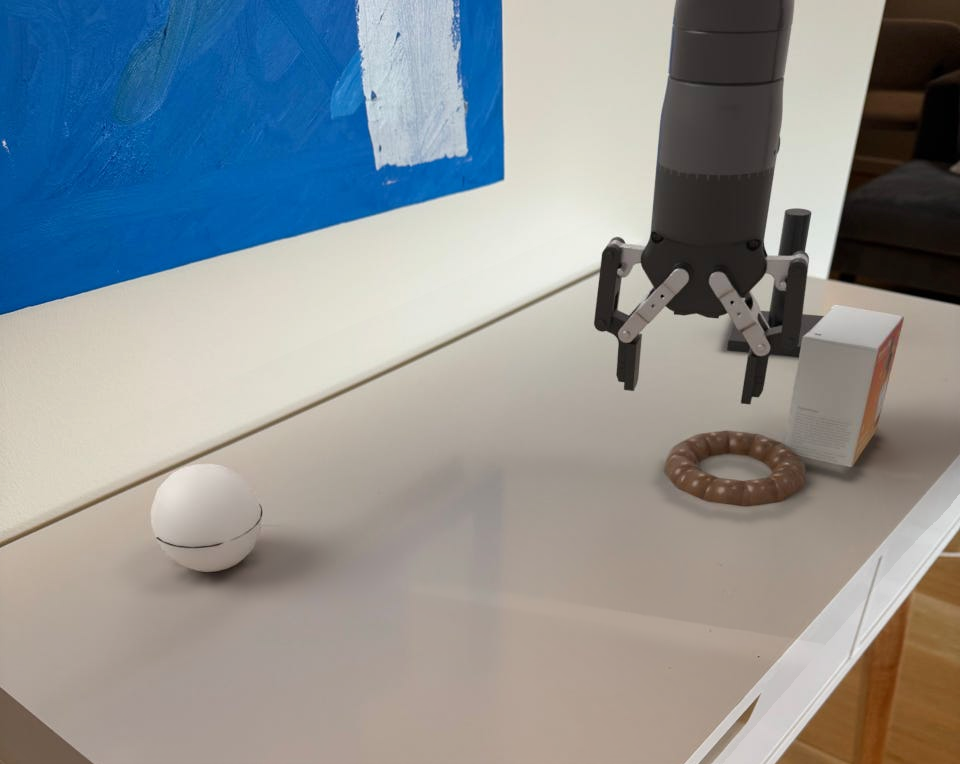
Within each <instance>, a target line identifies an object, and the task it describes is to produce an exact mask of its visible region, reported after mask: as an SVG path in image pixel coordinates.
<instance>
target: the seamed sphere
mask: <svg viewBox="0 0 960 764" xmlns="http://www.w3.org/2000/svg"><path fill="white" fill-rule="evenodd" d="M153 498H154V499H153V502H152V505H151V509H150V524H151V529H152V532H153V534H154V536H155V539H156V542H157V543H158V545H159V547H160V548H161V550H162V551H163V552H164V553H165V554H166V555H167V556H168V557H170V559H172V560H173V561H174V562H175V563H176V564H178V565H180V566H183V567H185V568H188V569H191V570H194V571H197V572H203V573H204V572H205V573H211V572H213V573H214V572H220V571H224V570H227V569H230V568H231V567H234V566H236V565H237V564H238V563H240V562H241V561H243V560H244V559H245V558H246V557H247V556H248V555H249V554H250V553H251V552H252V551H253V549H254V548H255V546H256V544H257V542H258V539H259V537H260V534H261V531H262V530H261V529H262V527H295V525H294V524H262V517H263V507H262V505H261V504H260V502H259V500H258V497H257V495H256V493H255V491H254V489H253V488H252V486H251V485H250V484H249V483H248V482H247V481H246V479H245V478H244V477H242V476H241V475H240V474H239V473H236V472H235V471H233V470H232V469H229V468H227V467H226V466H223V465H220V464H216V463H215V464H214V463H196V464H191V465H187V466H185V467H182V468H180V469H177V470H176V471H173V472H172V473H171V474H170V475H169V476H168V477H167V478H166V479H165V480H164V481H163V482H162V483H161V485H160V486H158V488H157V489H156V493H155V495H154V497H153Z"/></svg>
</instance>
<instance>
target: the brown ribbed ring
mask: <svg viewBox="0 0 960 764" xmlns="http://www.w3.org/2000/svg"><path fill="white" fill-rule="evenodd" d="M728 454H729V455H737V456H738V455H739V456H747V457H750V458H752V459H755V460H757V461H759V462H762V463H764V464H765V465H766V466H767V467H768V468H769V469H770V471H771V472H772V473H771V474H770V475H768V476H766V477H762V478H755V479H746V480H739V479H731V478H723V477H718V476H715V475H713V474H711V473H709V472H706V471H703V470H701V469H700V467H699V463H700V462H702V461H704V460H705V459H708V458H709V457H712V456H713V457H714V456H721V455H728ZM806 468H807V467H806V465H805V462H804V460H803V459H802V458H801V456H799V455H796V454H795V453H794V452H793V451H792V450H791V449H790V448H789V447H788V446H787V445H786V444H784V442H781V441H778V440H775V439H773V438H771V437H768V436H765V435H763V434H759V433H755V432H746V431H738V430H737V431H736V430H728V429H727V430H719V431H711V432H703V433H702V432H701V433H697V434H694V435H692V436H690V437H688V438H687V439H684V440H683V441H681V442H678V443H677V444H675V445H674V446H673V447H672V448H670V451H669V454H668V456H667V459H666V462H665V465H664V469H663V471H664V474H665V475H666V476H667V478H668V479H669V480H670V482H672V484H673V486H674V487H675V488H676V489H678V490H681V491H682V492H684V493H687V494H689V495H691V496H693V497H696V498H698V499H700V500H703V501H705V502H708V503H715V504H722V505H730V506H738V507H753V506H760V505H761V506H762V505H767V504H768V505H769V504H777V503H781V502H783V501H786V500H787V499H789V498H790V497H792V496H793V495H796V494H797V493H799V492H800V491H801V490H803V489H804V487H805V478H806V472H807V471H806Z"/></svg>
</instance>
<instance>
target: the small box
mask: <svg viewBox="0 0 960 764" xmlns="http://www.w3.org/2000/svg"><path fill="white" fill-rule="evenodd" d="M823 316H824V317H823V318H822V319H821V320H820V321H819V322H818V323H817V324H816V325H815V326H814V327H813V328H812V329H811V330H810V331H809V332H808V333H806V334H805V335H804V336H803V338H802V344H801V350H800V355H799V357H798V360H797V361H798V362H797V366H796V374H795V378H794V384H793V389H792V395H791V399H790V406H789V412H788V418H787V423H786V429H785V434H784V439H783V440H784V442H783V443H784V444H786V445H787V446H788V447H789V448H790V449H791V450H792V451H793V452H794V453H795V454H796V455H798V456H799V457H804V458H806V459H807V458H809V459H811V460H815V461H821V462H825V463H829V464H833V465H838V466H842V467H848V468H853V467H854V465H855V463H856V462H857V460H858V458H859V457H860V456H861V454H862V452H863V451H864V450H865V449H866V446H867V445H868V443H869V442H871V440H872V438H873V437H874V434H875V433H876V431H877V429H878V426H879V423H880V418H881V414H882V409H883V406H884V403H885V399H886V394H887V390H888V385H889V380H890V376H891V371H892V368H893V364H894V362H895V357H896V352H897V348H898V345H899V340H900V336H901V333H902V332H901V330H902V327H903V323H904V319H905V316H904V315H899V314H894V313H888V312H881V311H876V310H869V309H863V308H858V307H851V306H847V305H839V304H833V305H831V308H829V310H828V311H827V312H826V313H825V315H823Z"/></svg>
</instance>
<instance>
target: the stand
mask: <svg viewBox="0 0 960 764" xmlns="http://www.w3.org/2000/svg"><path fill="white" fill-rule="evenodd" d="M811 218H812V211H811V210H809V209H805V208H798V207H797V208H796V207H795V208H788V209H785V210H784V214H783V221H782V227H781V234H780V240H779V246H778V253H777V256H792V255H793V254H794V253H795V252H797V251H804V252H806V248H807V241H808V236H809V230H810V224H811ZM772 285H773V286H772V292H771V299H770V305H769V311H768V310H760V311H761V313H762V315H763V316H764V318H765V320H766V322H767V323H768V325H769V327H770V328H773V327H777V326H782V323H783V313H784V304H785V294H786V291H780V290H778V289H777V288H776V286H775V280H774V279H773V284H772ZM824 316H825V315H817V314H807V313H806V314H805V313H803V315H802V324H801V331H800V336H799V343H798V345H797V347H796V348H795V349H793V350H785V349H782V350H777V351H775V352H773V353H772V354H771V355H770V356H781V357H790V358H791V357H792V358H799V355H800V350H801V344H802V338H803V336H804V335H805V334H806V333H808V332H809V331H810V330H811V329H812V328H813V327H814V326H815V325H816V324H817V323H818V322H819V321H820V320H821V319H822V318H823V317H824ZM749 350H750V345H749V344H748V342H747V340H746V339H745V337H744V335H743V334H742V333H741V332H740V331H738V329H737V328H736V326H735V324H734V323H733V325H732V327H731V330H730V333H729V337H728V340H727V346H726V351H727V352H728V351H729V352H736V353H737V352H738V353H748V354H749Z"/></svg>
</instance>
